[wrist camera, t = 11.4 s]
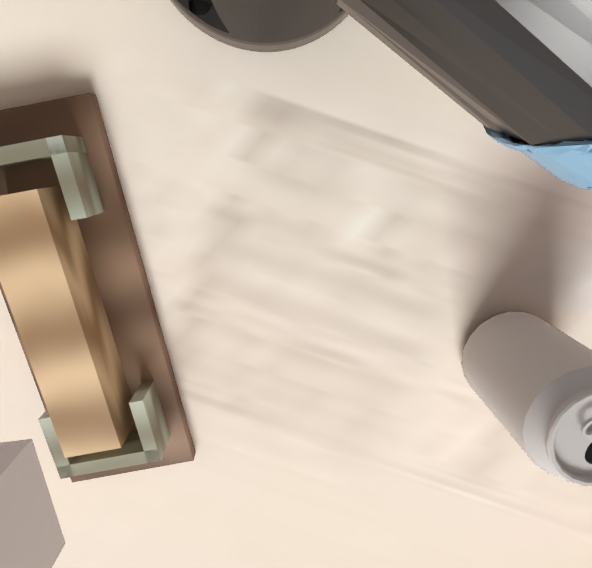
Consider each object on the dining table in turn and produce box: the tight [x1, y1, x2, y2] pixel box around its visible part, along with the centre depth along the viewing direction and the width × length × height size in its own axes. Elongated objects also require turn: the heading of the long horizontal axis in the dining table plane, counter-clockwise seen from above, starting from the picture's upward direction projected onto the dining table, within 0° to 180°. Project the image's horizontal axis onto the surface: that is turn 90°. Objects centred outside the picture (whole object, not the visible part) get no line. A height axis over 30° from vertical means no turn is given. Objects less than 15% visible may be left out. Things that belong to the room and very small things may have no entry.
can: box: [461, 312, 592, 486], centre depth 31 cm, size 8×8×12 cm
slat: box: [0, 186, 135, 458], centre depth 32 cm, size 18×4×4 cm, turn 10°
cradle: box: [0, 93, 195, 482], centre depth 33 cm, size 28×10×4 cm, turn 10°
